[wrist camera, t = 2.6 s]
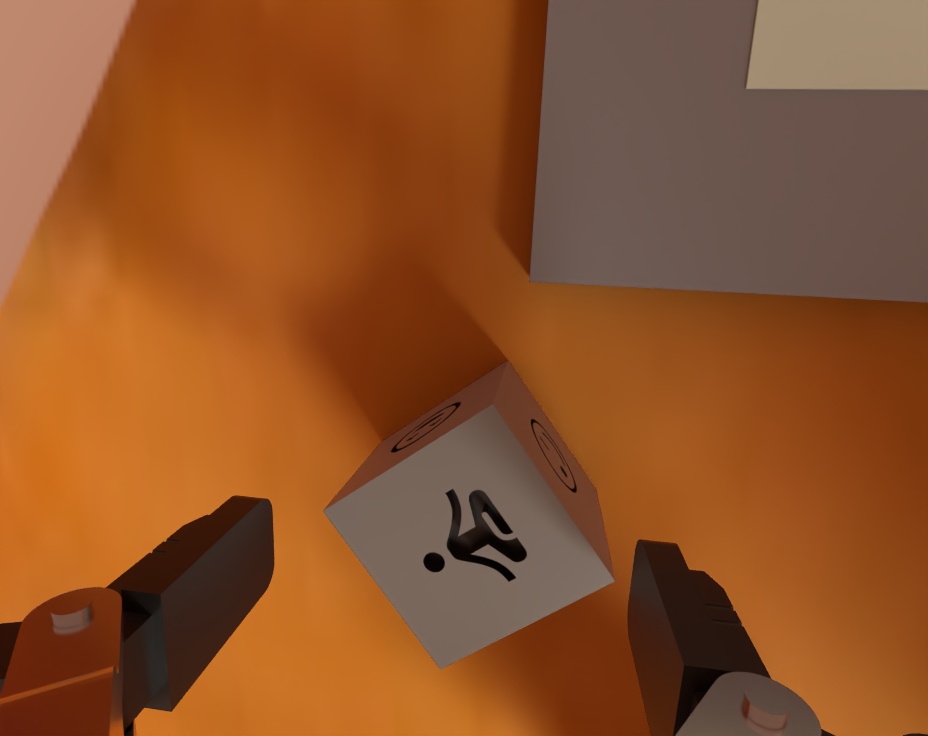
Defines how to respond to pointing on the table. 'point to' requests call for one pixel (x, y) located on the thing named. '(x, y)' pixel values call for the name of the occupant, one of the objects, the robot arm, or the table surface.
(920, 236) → the plate
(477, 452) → the dice cube
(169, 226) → the table surface
